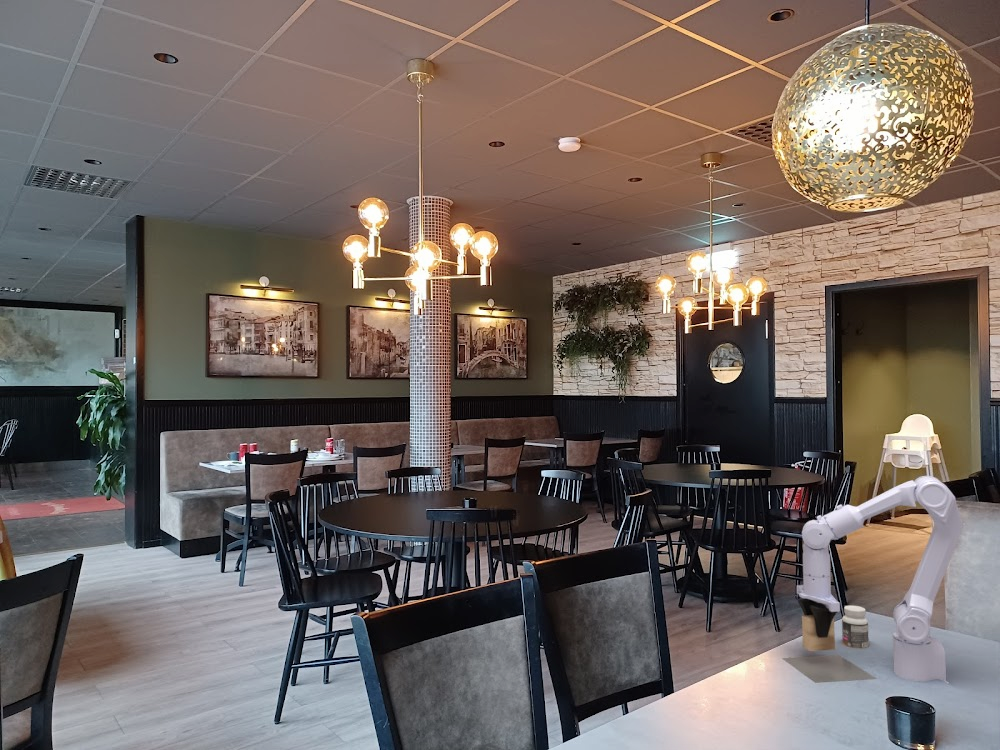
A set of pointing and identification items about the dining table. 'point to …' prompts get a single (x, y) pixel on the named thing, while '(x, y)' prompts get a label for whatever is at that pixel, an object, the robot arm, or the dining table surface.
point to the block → (812, 639)
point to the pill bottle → (855, 627)
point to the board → (828, 668)
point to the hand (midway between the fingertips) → (818, 634)
